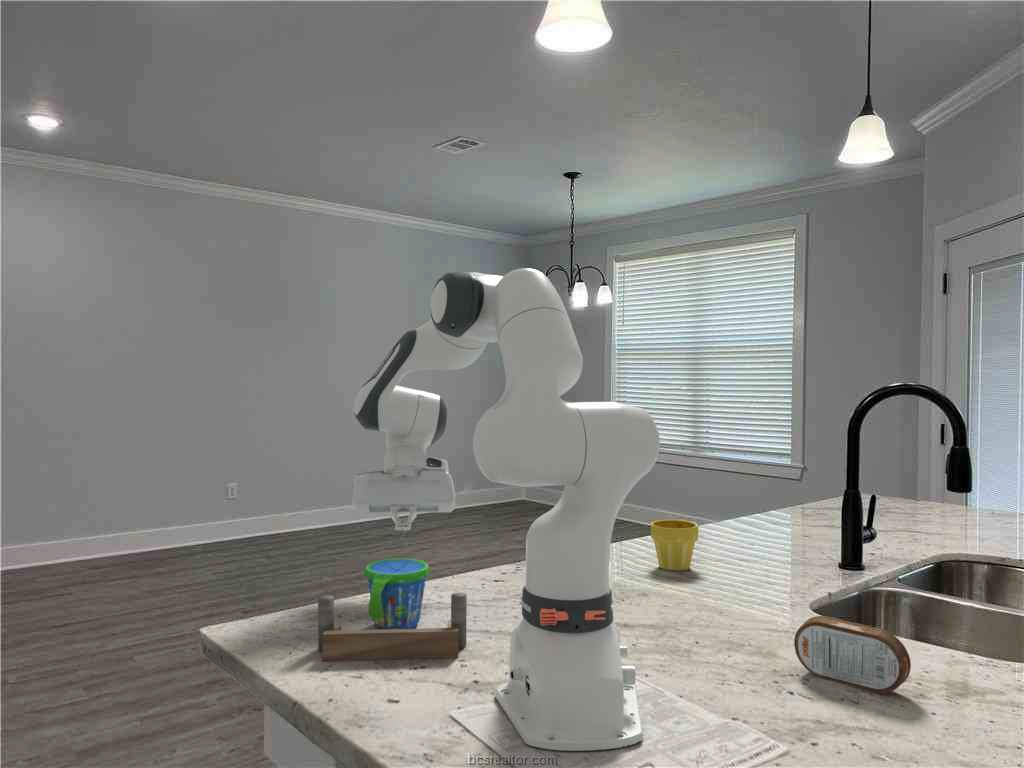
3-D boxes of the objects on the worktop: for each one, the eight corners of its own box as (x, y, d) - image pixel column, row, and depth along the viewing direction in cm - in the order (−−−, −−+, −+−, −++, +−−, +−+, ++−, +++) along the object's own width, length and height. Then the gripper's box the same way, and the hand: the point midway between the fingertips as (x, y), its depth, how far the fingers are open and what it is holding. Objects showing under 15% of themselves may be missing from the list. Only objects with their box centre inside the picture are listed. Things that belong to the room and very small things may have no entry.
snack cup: (397, 645, 120) (398, 580, 120) (342, 635, 124) (343, 572, 124) (446, 616, 134) (447, 558, 134) (395, 608, 139) (396, 552, 138)
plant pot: (646, 571, 166) (647, 526, 166) (653, 560, 176) (654, 517, 176) (695, 575, 163) (696, 529, 163) (699, 564, 173) (700, 520, 173)
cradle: (467, 657, 115) (467, 604, 115) (312, 661, 113) (313, 607, 113) (465, 635, 125) (465, 586, 125) (322, 638, 123) (323, 588, 122)
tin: (911, 695, 103) (912, 633, 102) (904, 703, 100) (905, 639, 100) (799, 666, 113) (800, 609, 112) (791, 672, 110) (791, 614, 110)
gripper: (352, 461, 153) (346, 519, 143) (455, 461, 154) (455, 518, 145) (354, 480, 157) (348, 538, 147) (454, 480, 159) (455, 537, 149)
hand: (402, 528), depth 146 cm, fingers closed
